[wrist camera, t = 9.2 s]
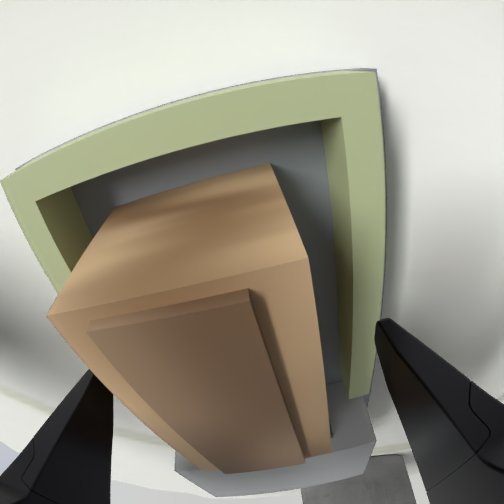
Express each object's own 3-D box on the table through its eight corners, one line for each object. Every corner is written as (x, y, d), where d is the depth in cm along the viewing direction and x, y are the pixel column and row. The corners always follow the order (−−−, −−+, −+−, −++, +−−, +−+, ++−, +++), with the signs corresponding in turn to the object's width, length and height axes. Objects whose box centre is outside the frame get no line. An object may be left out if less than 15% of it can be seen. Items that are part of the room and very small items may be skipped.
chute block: (205, 375, 14) (202, 477, 10) (115, 206, 9) (40, 326, 5) (308, 354, 14) (333, 459, 9) (269, 162, 9) (312, 269, 4)
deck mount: (204, 441, 21) (204, 498, 16) (29, 160, 9) (-59, 225, 5) (359, 414, 20) (376, 471, 16) (363, 68, 8) (463, 78, 4)
